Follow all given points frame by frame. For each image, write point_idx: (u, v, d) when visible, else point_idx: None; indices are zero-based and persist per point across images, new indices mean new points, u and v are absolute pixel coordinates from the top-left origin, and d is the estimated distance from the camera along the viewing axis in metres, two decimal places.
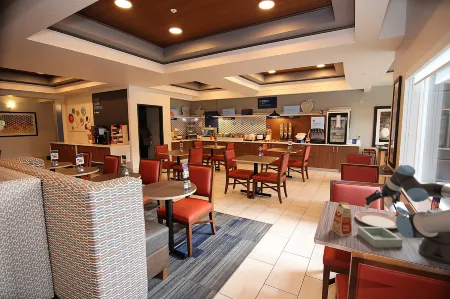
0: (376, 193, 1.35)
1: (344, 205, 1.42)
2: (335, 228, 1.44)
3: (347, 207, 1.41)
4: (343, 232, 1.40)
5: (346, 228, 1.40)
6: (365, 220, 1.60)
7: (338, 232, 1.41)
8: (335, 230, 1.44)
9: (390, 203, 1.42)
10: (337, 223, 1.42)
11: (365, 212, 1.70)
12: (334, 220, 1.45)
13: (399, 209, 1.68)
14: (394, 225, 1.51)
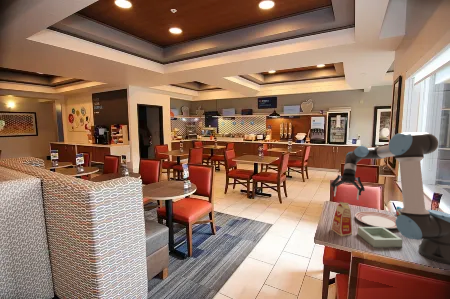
0: None
1: (344, 205, 1.42)
2: (335, 228, 1.44)
3: (347, 207, 1.41)
4: (343, 232, 1.40)
5: (346, 228, 1.40)
6: (365, 220, 1.60)
7: (338, 232, 1.41)
8: (335, 230, 1.44)
9: None
10: (337, 223, 1.42)
11: (365, 212, 1.70)
12: (334, 220, 1.45)
13: (399, 209, 1.68)
14: (394, 225, 1.51)
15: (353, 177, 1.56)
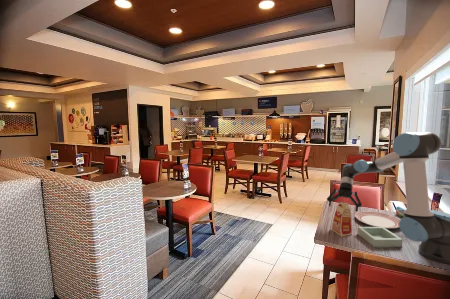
0: None
1: (344, 205, 1.42)
2: (335, 228, 1.44)
3: (347, 207, 1.41)
4: (343, 232, 1.40)
5: (346, 228, 1.40)
6: (365, 220, 1.60)
7: (338, 232, 1.41)
8: (335, 230, 1.44)
9: (354, 208, 1.43)
10: (337, 223, 1.42)
11: (365, 212, 1.70)
12: (334, 220, 1.45)
13: (399, 209, 1.68)
14: (394, 225, 1.51)
15: (350, 192, 1.50)
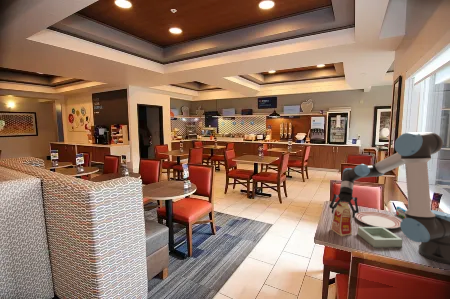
0: (333, 197, 1.52)
1: (344, 205, 1.42)
2: (334, 228, 1.44)
3: (347, 207, 1.41)
4: (342, 232, 1.40)
5: (346, 228, 1.40)
6: (365, 220, 1.60)
7: (338, 231, 1.41)
8: (335, 230, 1.44)
9: (351, 214, 1.41)
10: (337, 223, 1.42)
11: (365, 212, 1.70)
12: (334, 220, 1.45)
13: (399, 209, 1.68)
14: (394, 225, 1.51)
15: (350, 196, 1.47)
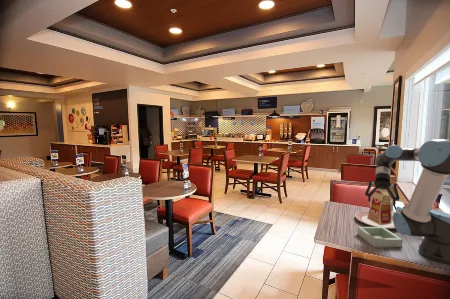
0: (369, 183, 1.40)
1: (383, 192, 1.30)
2: (372, 217, 1.32)
3: (386, 194, 1.29)
4: (382, 221, 1.28)
5: (386, 216, 1.29)
6: (365, 220, 1.60)
7: (377, 220, 1.29)
8: (372, 219, 1.32)
9: (391, 202, 1.29)
10: (375, 211, 1.30)
11: (365, 212, 1.70)
12: (371, 208, 1.33)
13: (399, 209, 1.68)
14: None
15: (388, 183, 1.35)
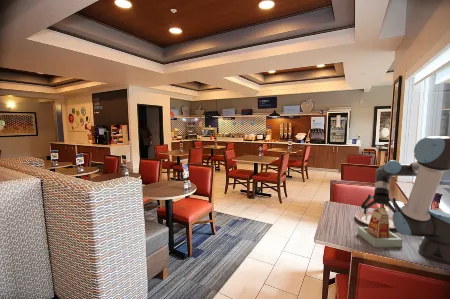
0: None
1: (381, 210, 1.31)
2: None
3: (384, 212, 1.31)
4: None
5: (384, 235, 1.30)
6: (365, 220, 1.60)
7: None
8: None
9: None
10: (373, 230, 1.32)
11: None
12: (369, 226, 1.34)
13: None
14: None
15: (387, 198, 1.36)
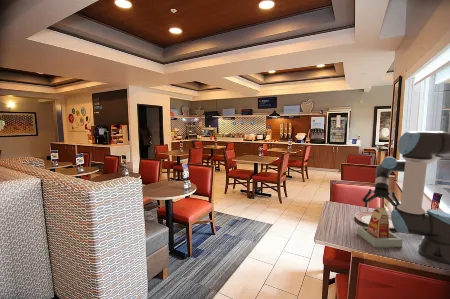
0: None
1: (381, 210, 1.31)
2: None
3: (384, 212, 1.31)
4: None
5: (384, 235, 1.30)
6: (365, 220, 1.60)
7: None
8: None
9: (393, 209, 1.40)
10: (373, 230, 1.32)
11: (365, 212, 1.70)
12: (369, 226, 1.34)
13: None
14: None
15: (387, 192, 1.47)
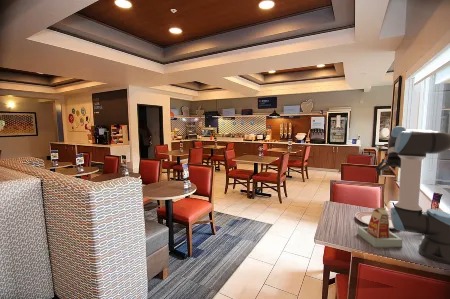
0: (381, 161, 1.58)
1: (381, 210, 1.31)
2: None
3: (384, 212, 1.31)
4: None
5: (384, 235, 1.30)
6: (365, 220, 1.60)
7: None
8: None
9: None
10: (373, 230, 1.32)
11: (365, 212, 1.70)
12: (369, 226, 1.34)
13: None
14: None
15: (399, 160, 1.52)
